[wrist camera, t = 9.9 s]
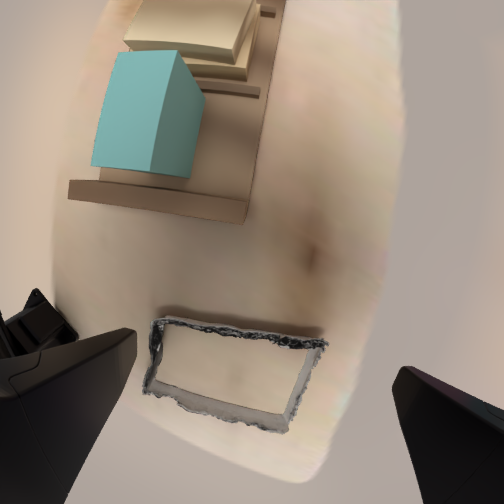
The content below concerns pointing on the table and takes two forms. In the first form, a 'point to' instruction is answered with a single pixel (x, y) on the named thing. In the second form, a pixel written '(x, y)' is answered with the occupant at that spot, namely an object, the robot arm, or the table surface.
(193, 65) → the offcut low
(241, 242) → the table surface
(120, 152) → the teal rectangular block
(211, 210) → the rack
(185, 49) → the offcut top
